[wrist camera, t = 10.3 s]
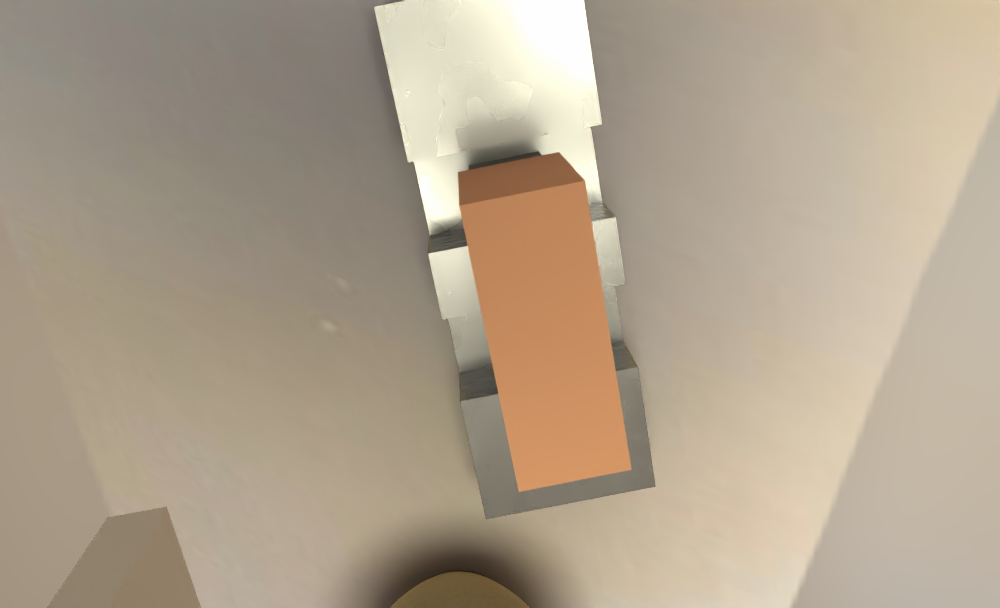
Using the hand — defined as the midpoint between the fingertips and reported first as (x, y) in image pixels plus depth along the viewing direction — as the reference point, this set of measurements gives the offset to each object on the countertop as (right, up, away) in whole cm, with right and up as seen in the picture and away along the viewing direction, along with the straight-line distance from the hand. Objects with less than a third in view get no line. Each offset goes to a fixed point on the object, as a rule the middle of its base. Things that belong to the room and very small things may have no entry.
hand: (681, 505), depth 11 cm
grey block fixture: (-2, +5, +24) cm, 25 cm away
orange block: (-2, +5, +24) cm, 24 cm away
